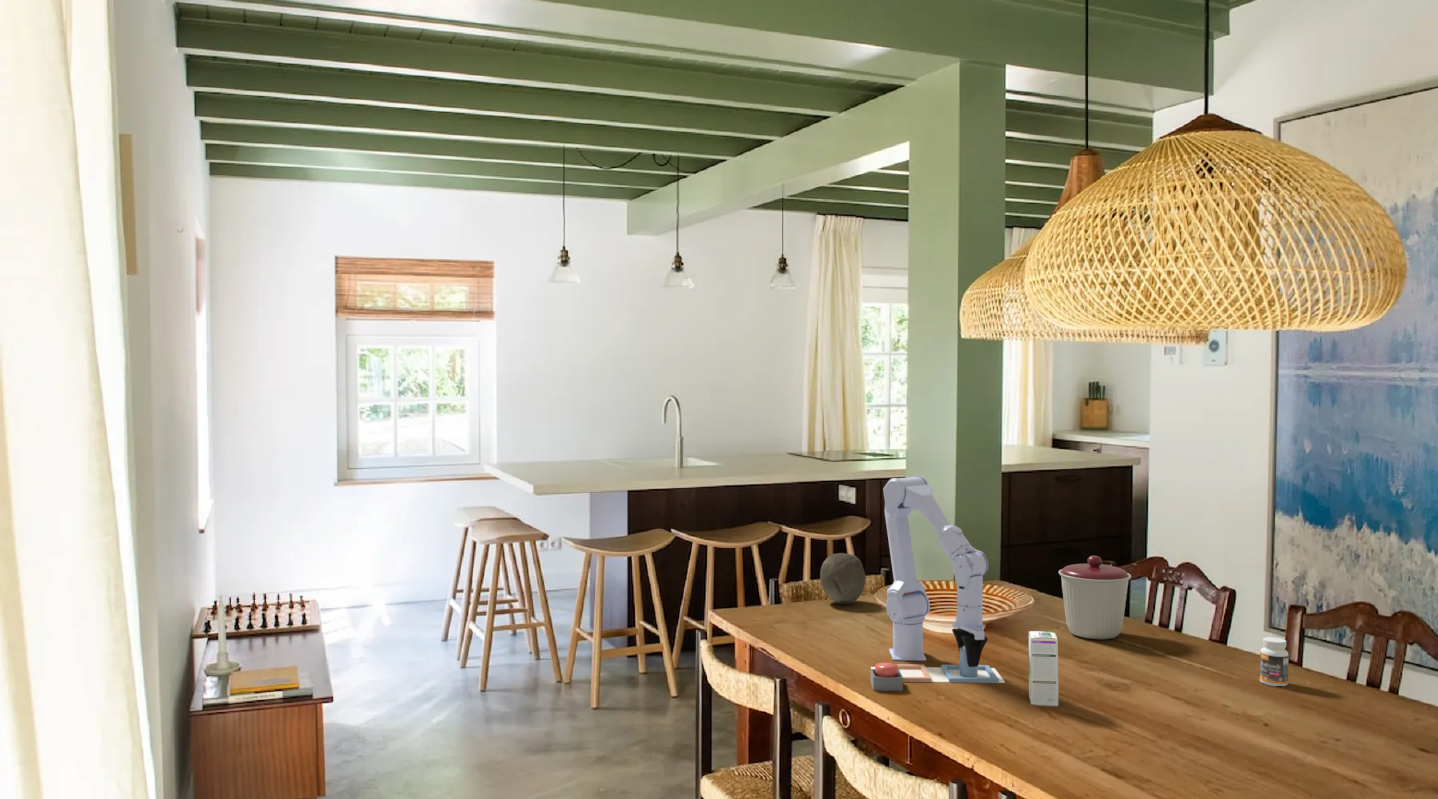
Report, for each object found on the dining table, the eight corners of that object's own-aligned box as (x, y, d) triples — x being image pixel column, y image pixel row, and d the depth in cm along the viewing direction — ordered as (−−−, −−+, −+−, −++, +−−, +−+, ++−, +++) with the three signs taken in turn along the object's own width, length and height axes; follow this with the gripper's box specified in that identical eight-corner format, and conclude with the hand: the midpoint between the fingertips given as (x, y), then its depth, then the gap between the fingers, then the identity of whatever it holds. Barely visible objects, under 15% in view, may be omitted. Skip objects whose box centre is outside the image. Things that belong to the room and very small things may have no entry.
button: (873, 671, 240) (873, 662, 240) (896, 671, 240) (896, 662, 240) (876, 677, 235) (876, 668, 235) (899, 678, 235) (899, 669, 235)
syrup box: (1059, 707, 223) (1059, 638, 223) (1029, 705, 224) (1030, 636, 224) (1056, 698, 229) (1056, 631, 228) (1027, 696, 230) (1027, 630, 230)
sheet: (870, 667, 253) (870, 666, 253) (994, 668, 251) (994, 668, 251) (875, 681, 241) (875, 681, 241) (1005, 683, 240) (1005, 682, 240)
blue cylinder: (956, 672, 247) (956, 644, 247) (972, 670, 248) (972, 643, 247) (964, 678, 243) (964, 650, 243) (980, 676, 244) (980, 648, 244)
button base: (870, 682, 241) (870, 669, 241) (899, 682, 241) (899, 669, 240) (873, 690, 234) (873, 677, 234) (902, 691, 234) (902, 677, 234)
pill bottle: (1256, 683, 239) (1256, 639, 239) (1264, 678, 243) (1264, 635, 243) (1283, 689, 235) (1284, 644, 235) (1291, 683, 239) (1292, 639, 239)
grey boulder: (876, 604, 318) (876, 554, 318) (837, 610, 311) (837, 559, 311) (847, 596, 330) (847, 547, 330) (809, 601, 323) (809, 552, 323)
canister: (1122, 647, 270) (1123, 564, 269) (1050, 637, 280) (1050, 557, 279) (1136, 632, 285) (1137, 553, 285) (1067, 623, 295) (1068, 547, 294)
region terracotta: (877, 667, 252) (877, 664, 252) (924, 667, 252) (924, 664, 252) (882, 681, 241) (882, 677, 241) (931, 681, 241) (931, 678, 241)
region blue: (941, 668, 251) (941, 664, 251) (988, 668, 251) (988, 665, 251) (949, 681, 240) (949, 678, 240) (998, 682, 240) (998, 678, 240)
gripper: (943, 598, 252) (942, 655, 252) (962, 612, 238) (962, 672, 238) (972, 597, 253) (971, 654, 253) (993, 611, 238) (993, 671, 239)
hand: (969, 663), depth 246 cm, fingers open, 5 cm apart
